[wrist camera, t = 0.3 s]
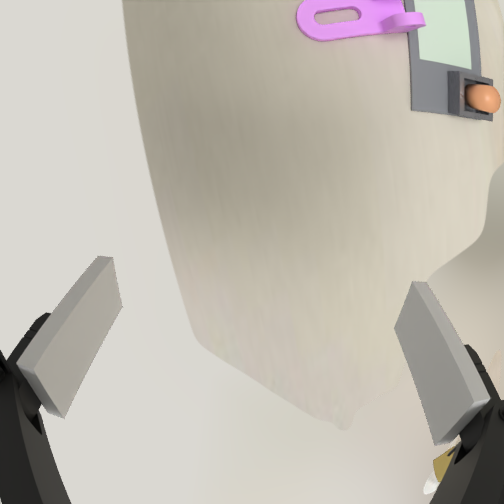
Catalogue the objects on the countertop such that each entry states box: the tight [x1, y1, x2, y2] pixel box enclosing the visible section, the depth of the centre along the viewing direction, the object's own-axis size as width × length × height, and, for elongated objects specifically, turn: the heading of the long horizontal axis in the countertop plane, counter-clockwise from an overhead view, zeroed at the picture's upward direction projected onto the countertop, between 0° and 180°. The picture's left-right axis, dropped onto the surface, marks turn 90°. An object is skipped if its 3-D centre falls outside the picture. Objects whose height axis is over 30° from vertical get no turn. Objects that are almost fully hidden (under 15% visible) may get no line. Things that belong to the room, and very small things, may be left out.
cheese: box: [433, 447, 454, 482], centre depth 73 cm, size 10×11×10 cm
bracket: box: [296, 0, 426, 41], centre depth 24 cm, size 13×6×7 cm, turn 107°
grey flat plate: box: [404, 0, 481, 120], centre depth 26 cm, size 21×11×1 cm, turn 5°
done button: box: [464, 84, 501, 113], centre depth 26 cm, size 3×3×4 cm
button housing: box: [447, 71, 493, 121], centre depth 28 cm, size 6×6×3 cm
